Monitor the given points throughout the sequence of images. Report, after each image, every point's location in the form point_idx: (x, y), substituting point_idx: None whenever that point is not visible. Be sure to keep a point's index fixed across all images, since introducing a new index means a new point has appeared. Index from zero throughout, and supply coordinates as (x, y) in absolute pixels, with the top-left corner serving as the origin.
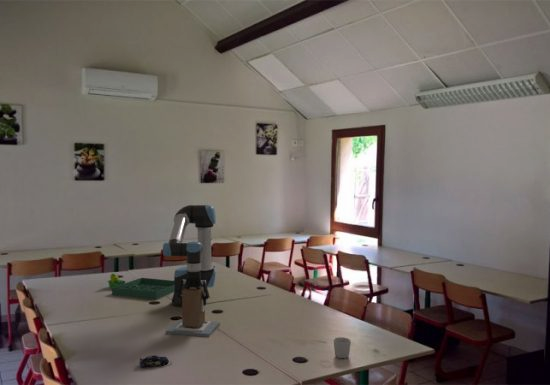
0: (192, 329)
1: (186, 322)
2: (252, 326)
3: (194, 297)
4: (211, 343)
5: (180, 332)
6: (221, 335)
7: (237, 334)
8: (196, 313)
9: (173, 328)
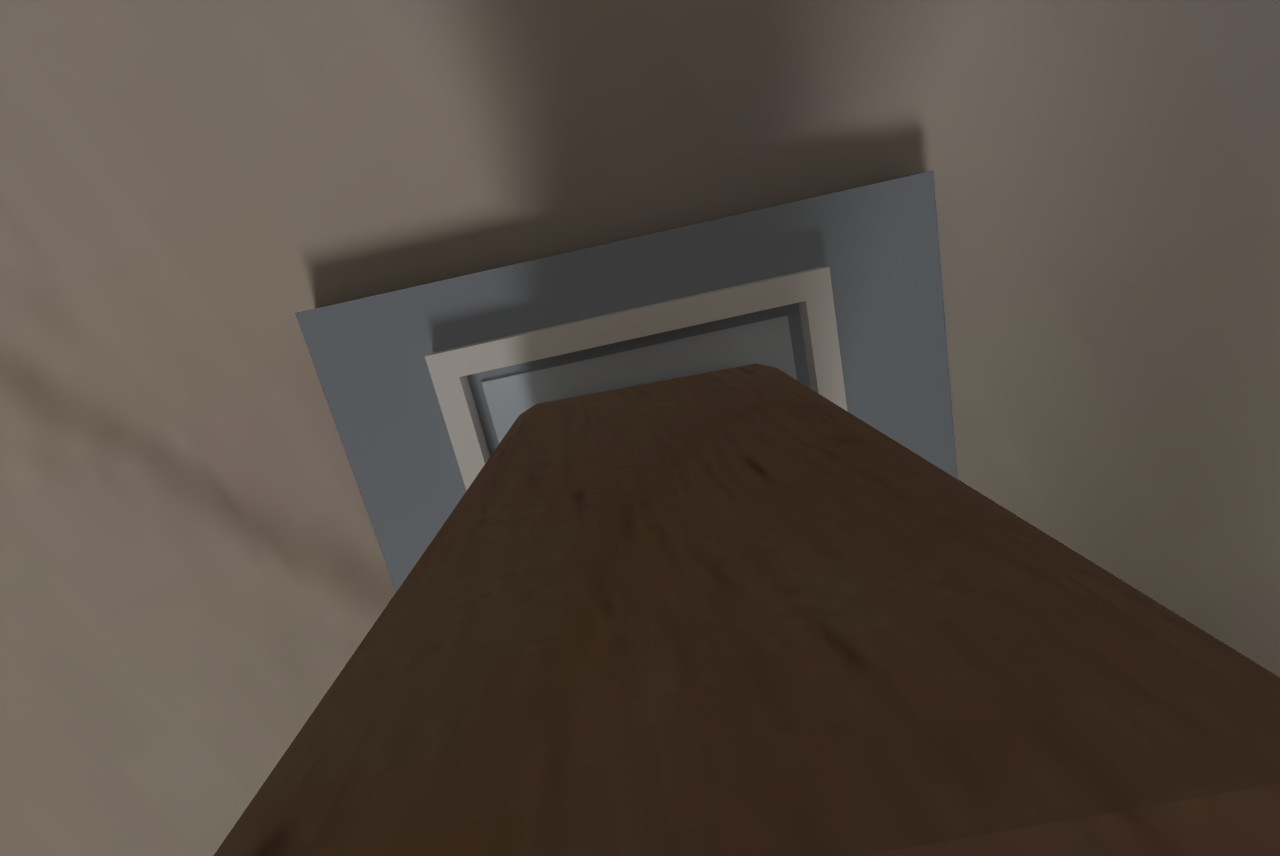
0: (573, 322)
1: (712, 380)
2: (97, 809)
3: (489, 686)
4: (116, 76)
5: (711, 220)
6: (208, 414)
7: (60, 523)
8: (519, 461)
9: (876, 307)
